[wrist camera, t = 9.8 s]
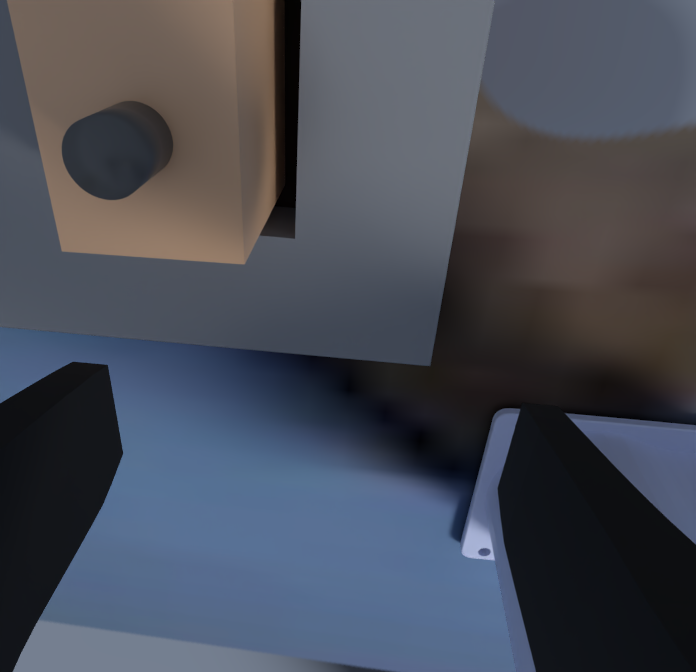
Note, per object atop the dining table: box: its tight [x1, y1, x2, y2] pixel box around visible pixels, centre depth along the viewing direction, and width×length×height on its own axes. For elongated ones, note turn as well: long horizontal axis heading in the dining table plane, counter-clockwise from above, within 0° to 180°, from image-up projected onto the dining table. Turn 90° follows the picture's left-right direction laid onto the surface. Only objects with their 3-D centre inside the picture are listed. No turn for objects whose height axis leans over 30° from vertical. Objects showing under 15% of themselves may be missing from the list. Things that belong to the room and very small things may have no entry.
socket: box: [0, 0, 495, 366], centre depth 15 cm, size 14×14×2 cm
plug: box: [7, 0, 285, 265], centre depth 13 cm, size 4×5×8 cm
